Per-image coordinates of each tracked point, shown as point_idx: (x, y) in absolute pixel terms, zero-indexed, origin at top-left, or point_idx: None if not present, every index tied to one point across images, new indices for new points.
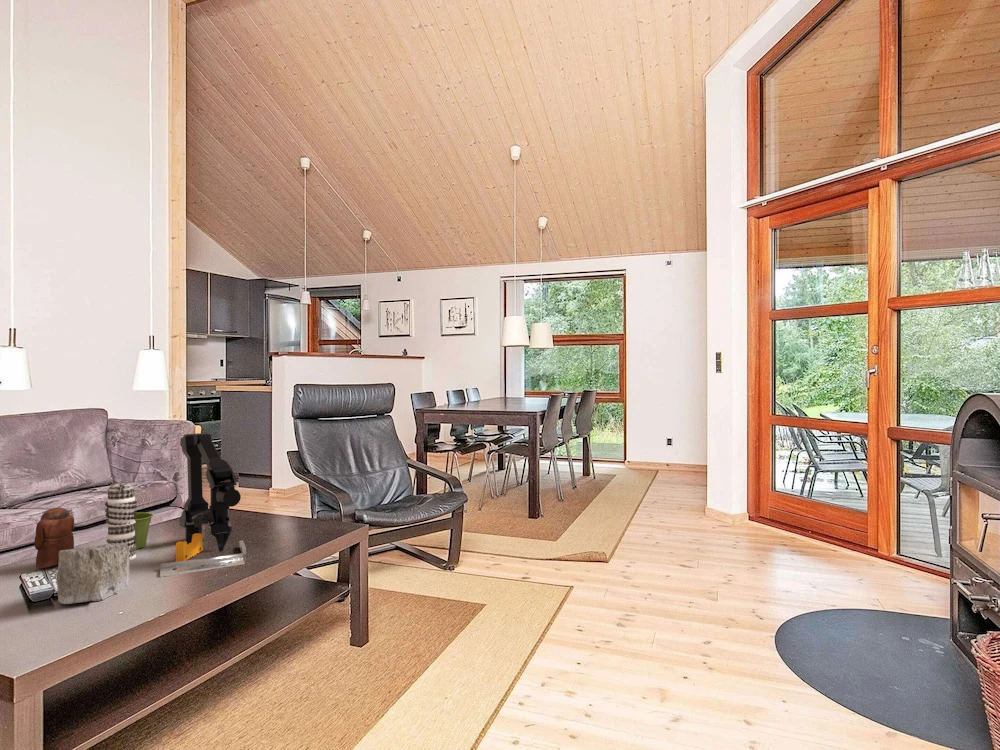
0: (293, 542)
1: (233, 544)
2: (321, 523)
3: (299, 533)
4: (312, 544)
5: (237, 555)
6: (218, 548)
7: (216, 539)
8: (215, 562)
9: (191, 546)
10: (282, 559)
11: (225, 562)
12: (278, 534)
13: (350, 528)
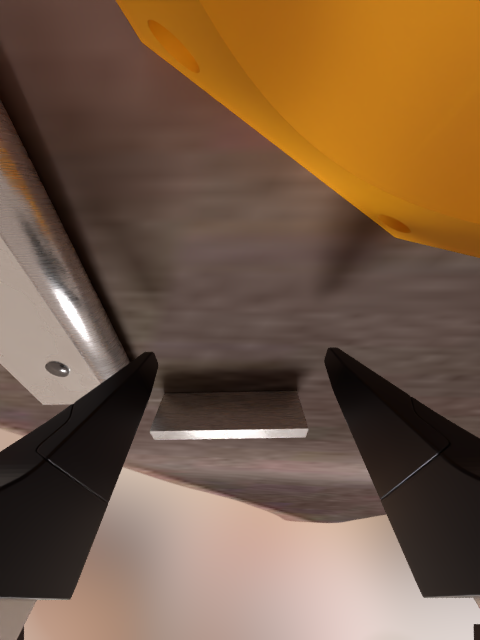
0: (279, 474)
1: (398, 377)
2: None
3: (358, 484)
4: (237, 489)
5: None
6: (126, 365)
7: (16, 441)
8: (40, 313)
9: (439, 107)
10: None
11: (45, 352)
12: None
13: (320, 517)
